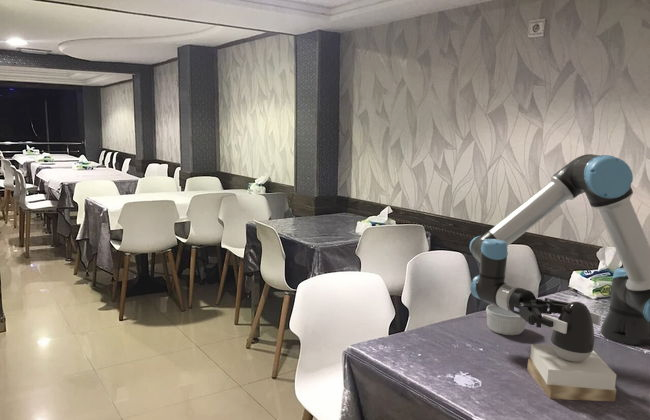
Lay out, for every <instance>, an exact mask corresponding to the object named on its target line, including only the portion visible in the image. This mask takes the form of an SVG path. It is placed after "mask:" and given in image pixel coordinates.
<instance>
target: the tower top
mask: <svg viewBox="0 0 650 420" xmlns="http://www.w3.org/2000/svg"><path fill="white" fill-rule="evenodd" d="M529 357H530V358H529V359H531V360H532V361H533V363H534V365H535V366H536V368H537V369H538V371H539V373H540V374H541V376H542V377H543V379H544V381H545V382H546V384H547V385H558V386H570V387H582V388H594V389H606V390H615V388H616V382H617V381H616V380H617V373H615V372H614V371H613V369H611V367H610V366H609V365H608V364H607V363H606V362H605V361H604V360H603V359H602V358H601V357H600V356H599V355H598V353H596V351H594V350H593V351H592V352H591V354H590V356H589V357H588V358H587V359H586V360H584V361H580V362H572V361H568V360H565V359H563V358H561V357H560V356H558V355H557V354H556V352H555V351H554V349H553V345H546V344H534V343H531V345H530V356H529Z"/></svg>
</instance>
